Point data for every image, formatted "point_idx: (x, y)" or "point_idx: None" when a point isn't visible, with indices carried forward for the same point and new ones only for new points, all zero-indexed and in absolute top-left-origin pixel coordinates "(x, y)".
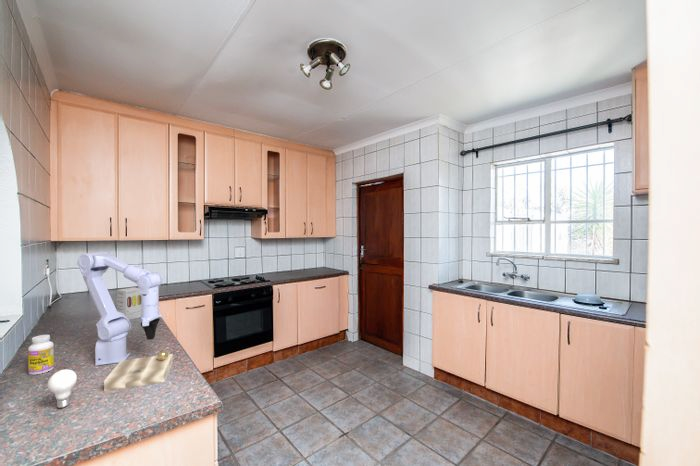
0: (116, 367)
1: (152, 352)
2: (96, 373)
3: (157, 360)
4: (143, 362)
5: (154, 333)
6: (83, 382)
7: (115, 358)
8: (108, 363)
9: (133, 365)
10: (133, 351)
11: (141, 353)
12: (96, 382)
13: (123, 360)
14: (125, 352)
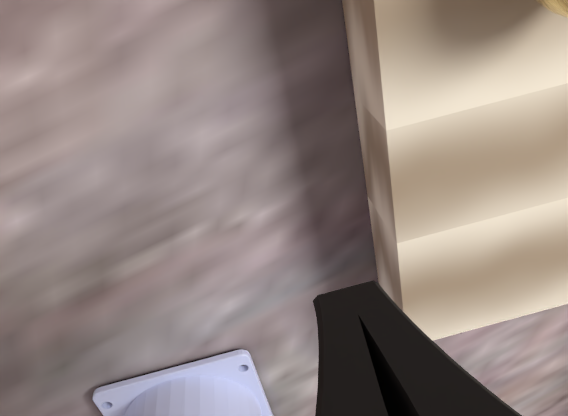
0: (546, 302)
1: (29, 255)
2: None
3: (544, 7)
4: (531, 146)
5: (429, 344)
6: (496, 371)
7: (252, 411)
8: (270, 408)
9: (566, 200)
10: (28, 397)
11: (64, 326)
12: (526, 316)
13: None
14: (181, 413)
